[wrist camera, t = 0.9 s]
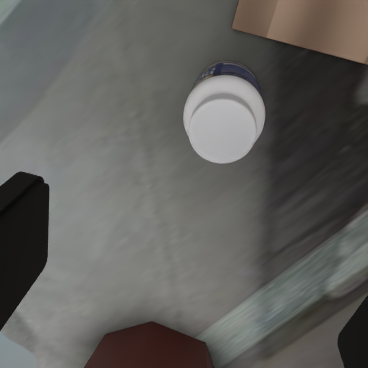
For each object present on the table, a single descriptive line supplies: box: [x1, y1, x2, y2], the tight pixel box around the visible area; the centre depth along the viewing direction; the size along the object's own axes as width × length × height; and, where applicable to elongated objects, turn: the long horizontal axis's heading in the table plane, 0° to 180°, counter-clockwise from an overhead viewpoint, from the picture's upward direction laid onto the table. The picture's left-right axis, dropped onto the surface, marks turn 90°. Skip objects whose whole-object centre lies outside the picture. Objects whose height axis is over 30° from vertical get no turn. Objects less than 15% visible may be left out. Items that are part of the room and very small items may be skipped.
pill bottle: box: [183, 61, 265, 163], centre depth 23 cm, size 5×5×10 cm
